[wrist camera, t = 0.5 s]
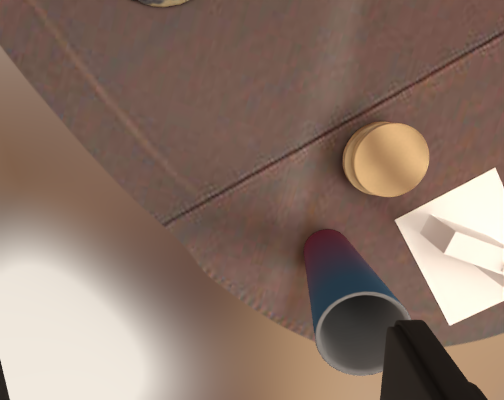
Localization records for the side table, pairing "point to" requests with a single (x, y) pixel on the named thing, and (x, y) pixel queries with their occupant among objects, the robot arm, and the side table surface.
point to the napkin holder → (461, 246)
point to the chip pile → (385, 159)
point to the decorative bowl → (162, 2)
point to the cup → (348, 305)
